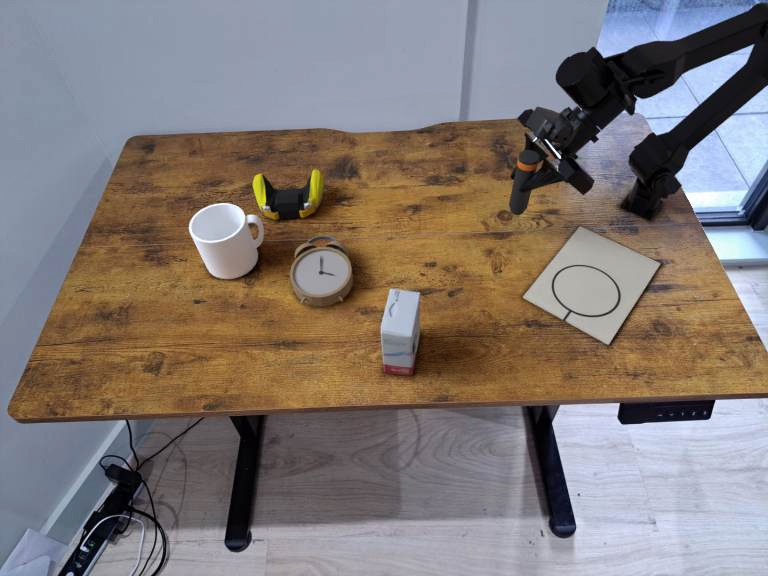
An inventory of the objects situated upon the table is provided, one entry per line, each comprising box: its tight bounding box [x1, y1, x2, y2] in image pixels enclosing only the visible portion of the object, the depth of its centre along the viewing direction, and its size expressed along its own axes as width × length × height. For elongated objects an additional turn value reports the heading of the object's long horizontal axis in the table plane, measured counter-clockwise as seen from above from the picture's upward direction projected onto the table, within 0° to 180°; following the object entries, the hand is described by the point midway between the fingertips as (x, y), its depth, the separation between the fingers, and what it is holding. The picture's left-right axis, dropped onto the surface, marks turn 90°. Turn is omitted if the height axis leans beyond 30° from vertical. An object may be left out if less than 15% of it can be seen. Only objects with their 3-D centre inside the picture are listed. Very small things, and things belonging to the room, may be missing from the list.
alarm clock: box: [289, 234, 354, 307], centre depth 94 cm, size 11×5×15 cm
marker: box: [508, 149, 540, 216], centre depth 91 cm, size 4×4×12 cm
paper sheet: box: [522, 226, 661, 346], centre depth 92 cm, size 22×16×1 cm
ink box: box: [380, 288, 421, 377], centre depth 80 cm, size 9×5×12 cm, turn 168°
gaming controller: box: [252, 168, 326, 221], centre depth 106 cm, size 15×6×10 cm
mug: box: [188, 202, 265, 280], centre depth 95 cm, size 13×10×10 cm
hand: (515, 184), depth 90 cm, fingers closed on marker, 3 cm apart
